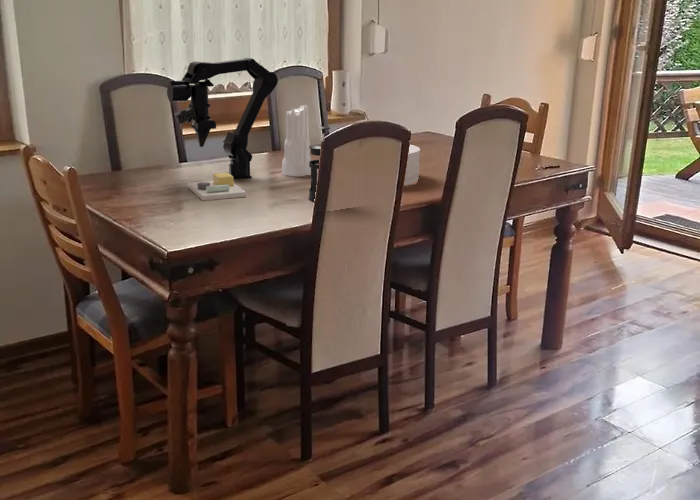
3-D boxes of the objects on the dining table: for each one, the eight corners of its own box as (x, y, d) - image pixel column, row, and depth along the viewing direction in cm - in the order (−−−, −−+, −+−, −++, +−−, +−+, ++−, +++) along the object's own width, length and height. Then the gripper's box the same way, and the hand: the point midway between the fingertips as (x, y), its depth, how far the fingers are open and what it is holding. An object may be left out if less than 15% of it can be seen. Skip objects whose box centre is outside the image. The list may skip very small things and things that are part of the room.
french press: (300, 199, 246) (300, 126, 240) (319, 194, 254) (319, 123, 247) (329, 205, 240) (330, 130, 233) (348, 200, 247) (349, 127, 240)
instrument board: (228, 183, 266) (228, 170, 264) (246, 196, 248) (245, 182, 247) (188, 187, 260) (187, 174, 259) (202, 200, 243) (201, 186, 242)
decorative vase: (277, 175, 282) (276, 105, 274) (290, 169, 291) (289, 102, 284) (304, 177, 278) (304, 106, 271) (316, 172, 287) (317, 103, 280)
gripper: (169, 98, 267) (172, 143, 271) (181, 104, 251) (183, 152, 255) (201, 97, 271) (203, 142, 276) (215, 103, 255) (217, 150, 260)
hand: (201, 146), depth 266 cm, fingers closed
